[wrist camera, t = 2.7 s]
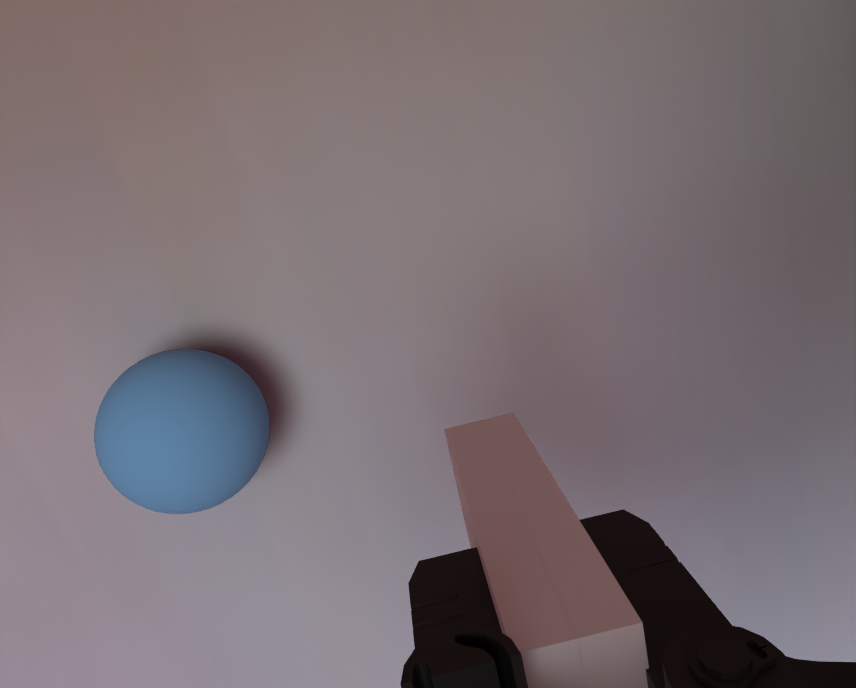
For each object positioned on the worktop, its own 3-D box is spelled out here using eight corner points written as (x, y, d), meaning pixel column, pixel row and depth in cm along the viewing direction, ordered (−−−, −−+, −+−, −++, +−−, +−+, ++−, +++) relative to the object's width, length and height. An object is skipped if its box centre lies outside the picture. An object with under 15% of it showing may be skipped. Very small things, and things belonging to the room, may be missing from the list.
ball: (257, 317, 23) (222, 357, 18) (296, 450, 25) (274, 524, 19) (111, 350, 23) (32, 400, 18) (159, 482, 25) (99, 565, 19)
